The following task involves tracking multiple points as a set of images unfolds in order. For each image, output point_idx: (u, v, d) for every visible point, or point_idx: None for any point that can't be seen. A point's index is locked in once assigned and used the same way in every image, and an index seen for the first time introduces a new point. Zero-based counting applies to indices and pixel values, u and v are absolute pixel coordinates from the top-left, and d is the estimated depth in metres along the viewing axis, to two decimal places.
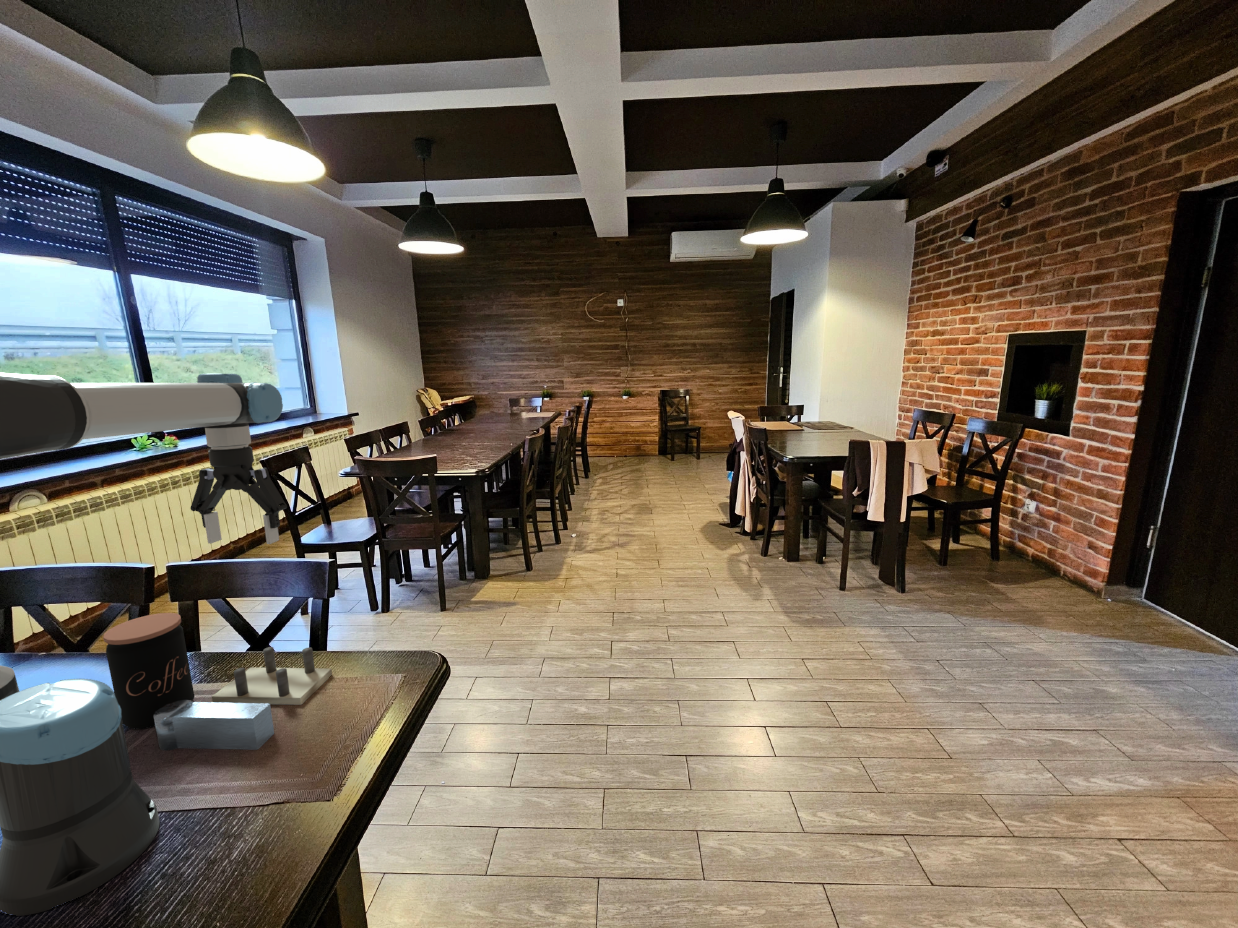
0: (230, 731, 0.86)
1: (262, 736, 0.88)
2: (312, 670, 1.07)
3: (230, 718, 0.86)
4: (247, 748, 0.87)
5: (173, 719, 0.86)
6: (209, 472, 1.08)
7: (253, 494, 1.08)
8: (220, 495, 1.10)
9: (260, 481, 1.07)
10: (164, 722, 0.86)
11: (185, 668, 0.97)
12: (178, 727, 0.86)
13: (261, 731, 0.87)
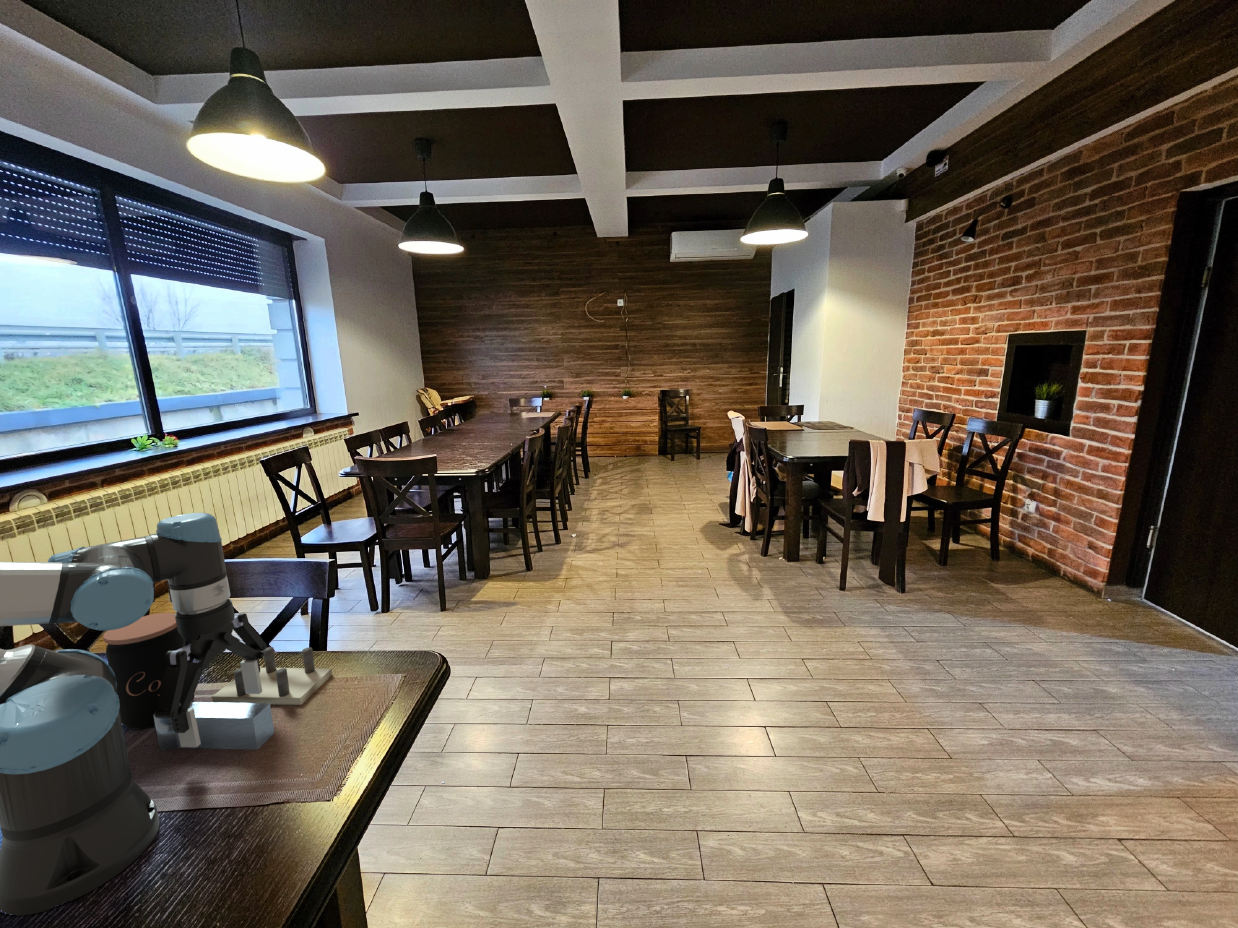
0: (230, 731, 0.86)
1: (262, 736, 0.88)
2: (312, 670, 1.07)
3: (230, 718, 0.86)
4: (247, 748, 0.87)
5: None
6: None
7: None
8: (235, 649, 0.91)
9: None
10: (164, 722, 0.86)
11: None
12: None
13: (261, 731, 0.87)
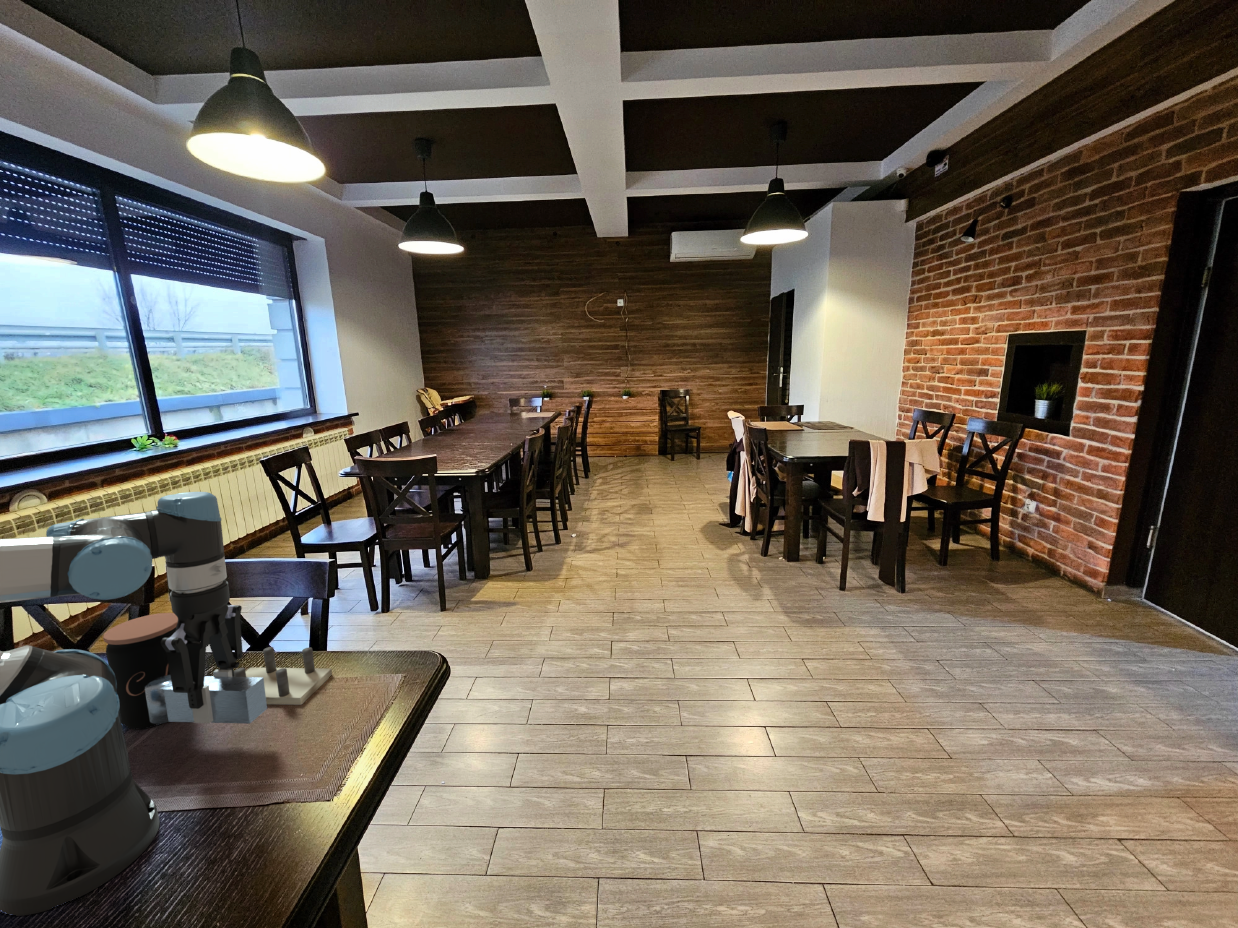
0: (222, 704, 0.85)
1: (254, 710, 0.86)
2: (312, 670, 1.07)
3: (222, 690, 0.84)
4: (239, 722, 0.85)
5: (165, 692, 0.85)
6: None
7: None
8: (217, 644, 0.87)
9: None
10: (155, 695, 0.84)
11: None
12: (169, 700, 0.85)
13: (254, 705, 0.86)
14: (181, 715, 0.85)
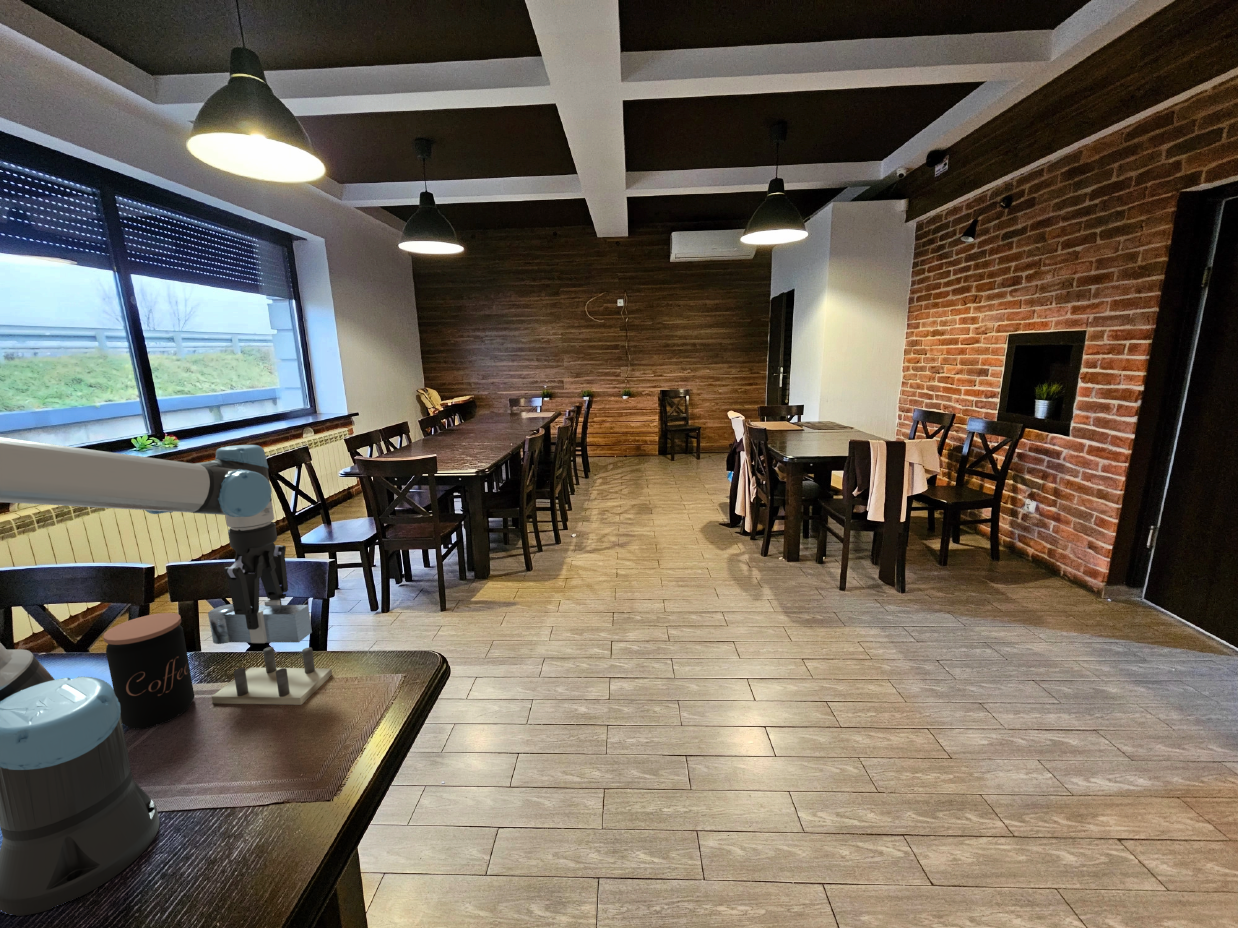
0: (275, 626, 0.99)
1: (302, 631, 1.01)
2: (312, 670, 1.07)
3: (274, 614, 0.99)
4: (289, 641, 1.00)
5: (225, 617, 0.99)
6: None
7: None
8: (268, 577, 1.01)
9: None
10: (217, 619, 0.99)
11: (185, 668, 0.97)
12: (229, 623, 0.99)
13: (301, 627, 1.00)
14: (240, 636, 1.00)
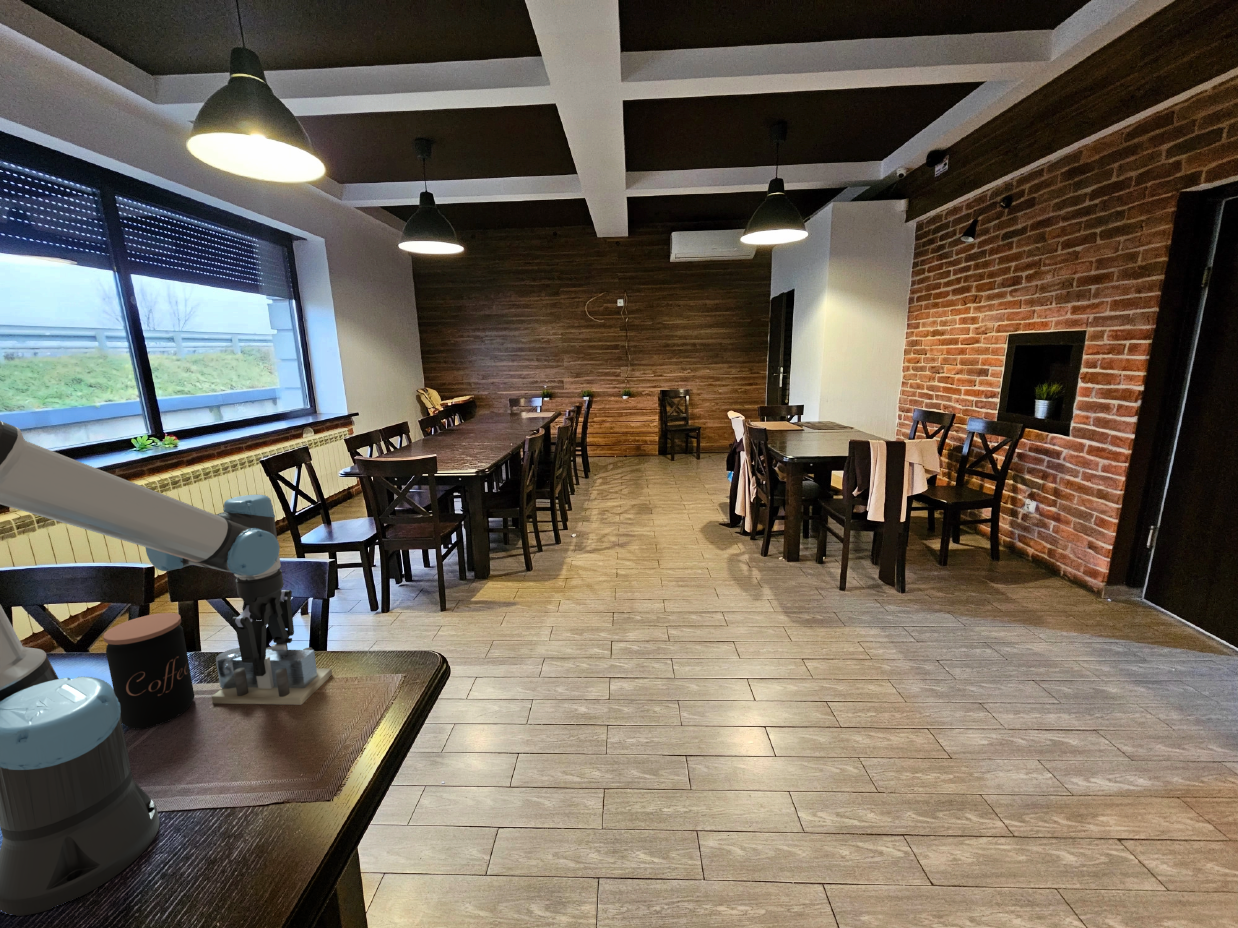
0: None
1: (308, 677, 1.02)
2: None
3: (281, 660, 1.00)
4: (296, 687, 1.01)
5: (233, 662, 1.01)
6: None
7: None
8: (274, 623, 1.03)
9: None
10: (225, 664, 1.00)
11: (185, 668, 0.97)
12: None
13: (307, 673, 1.02)
14: (247, 681, 1.02)
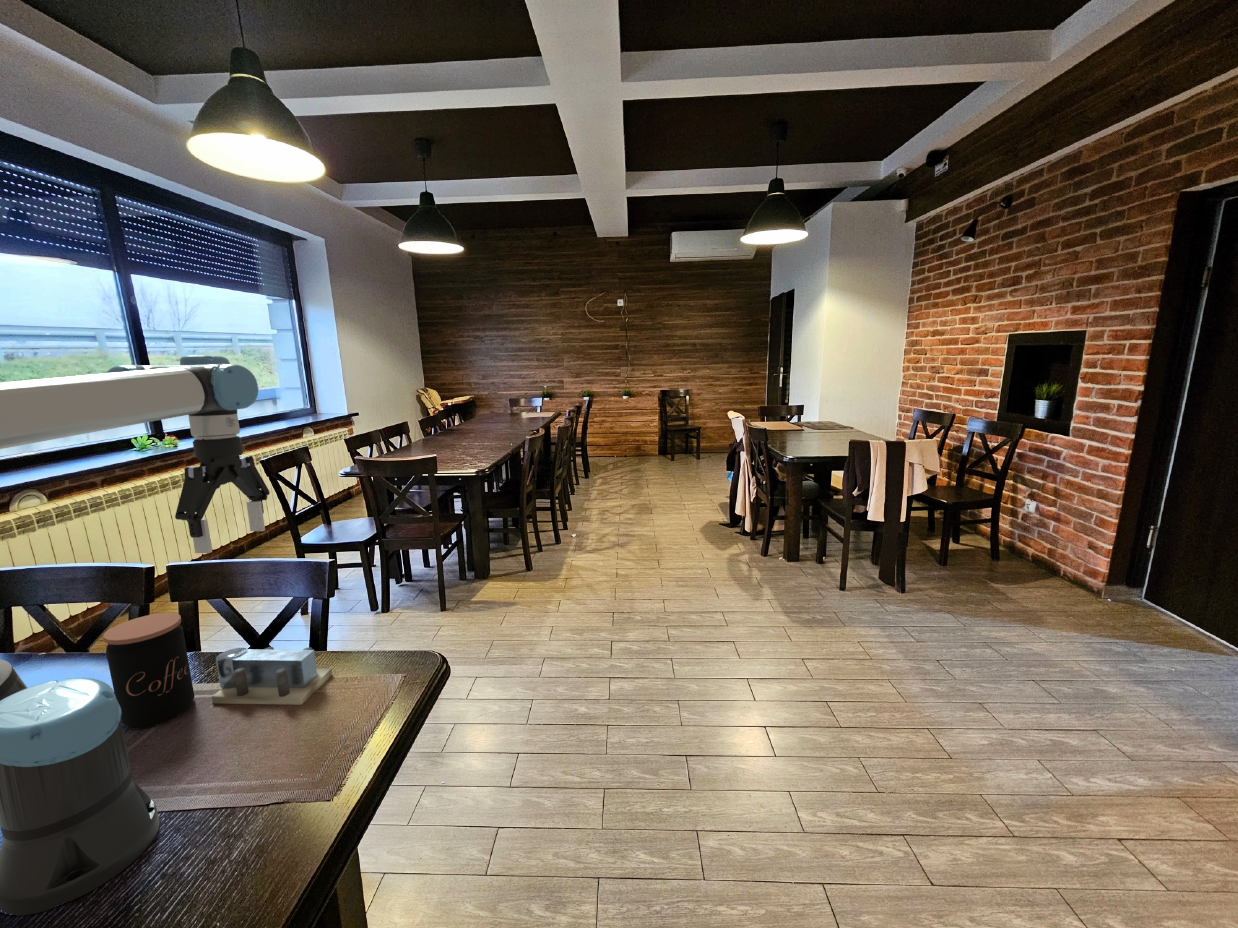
0: None
1: (308, 677, 1.02)
2: None
3: (281, 660, 1.00)
4: (296, 687, 1.01)
5: (233, 662, 1.01)
6: None
7: None
8: (243, 486, 1.04)
9: None
10: (225, 664, 1.00)
11: (185, 668, 0.97)
12: None
13: (307, 673, 1.02)
14: (247, 681, 1.02)
